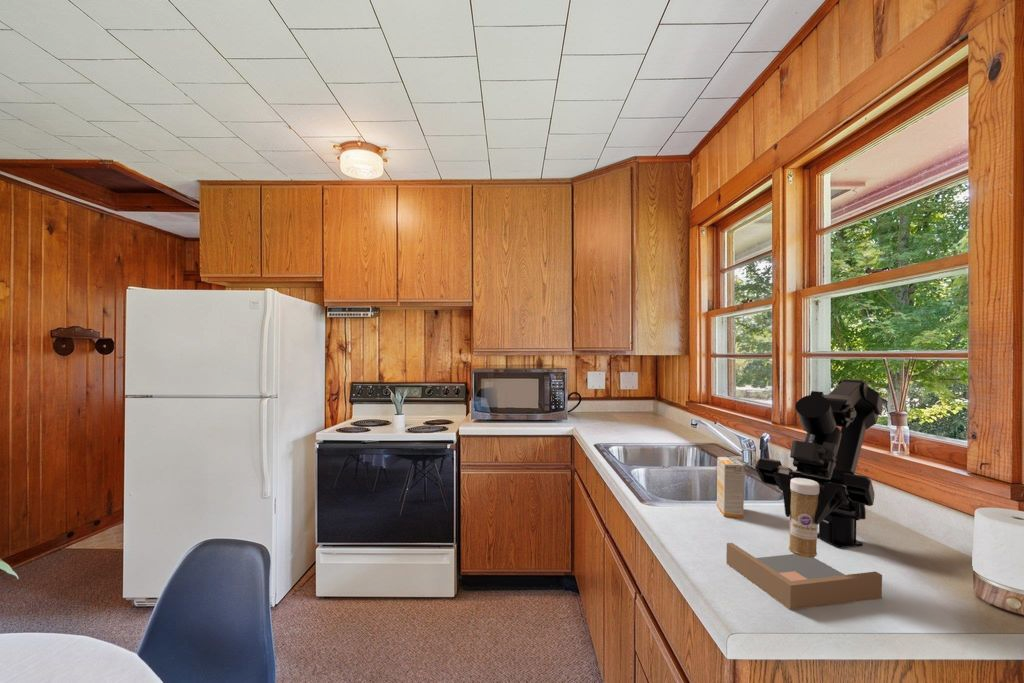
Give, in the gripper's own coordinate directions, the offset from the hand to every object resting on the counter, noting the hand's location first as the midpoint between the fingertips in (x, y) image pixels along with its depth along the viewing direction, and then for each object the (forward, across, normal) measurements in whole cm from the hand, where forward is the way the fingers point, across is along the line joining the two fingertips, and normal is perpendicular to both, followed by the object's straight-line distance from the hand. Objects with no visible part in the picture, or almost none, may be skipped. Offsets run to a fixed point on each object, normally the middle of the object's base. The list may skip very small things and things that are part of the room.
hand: (801, 519), depth 87 cm
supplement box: (-10, -23, +26) cm, 36 cm away
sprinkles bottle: (+4, 0, +6) cm, 7 cm away
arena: (+7, 0, +9) cm, 11 cm away
